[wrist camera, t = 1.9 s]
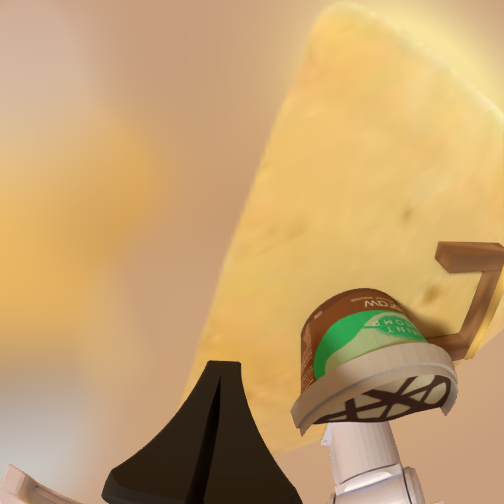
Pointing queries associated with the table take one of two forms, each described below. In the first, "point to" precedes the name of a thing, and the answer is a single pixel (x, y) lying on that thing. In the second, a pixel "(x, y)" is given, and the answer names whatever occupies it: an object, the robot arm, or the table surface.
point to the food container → (368, 364)
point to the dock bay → (486, 297)
